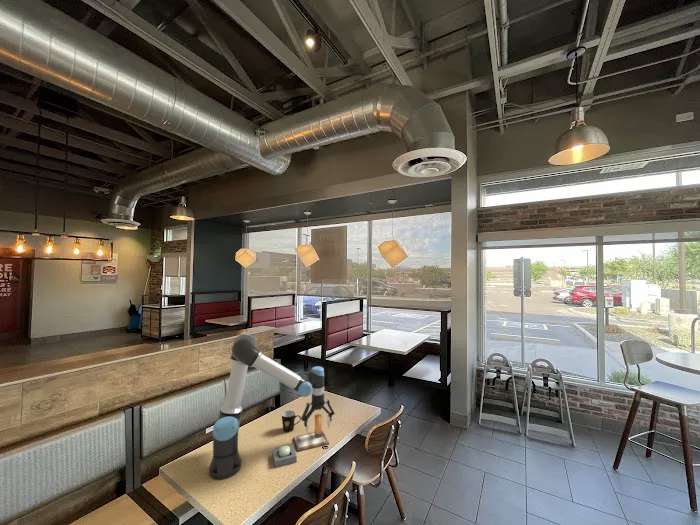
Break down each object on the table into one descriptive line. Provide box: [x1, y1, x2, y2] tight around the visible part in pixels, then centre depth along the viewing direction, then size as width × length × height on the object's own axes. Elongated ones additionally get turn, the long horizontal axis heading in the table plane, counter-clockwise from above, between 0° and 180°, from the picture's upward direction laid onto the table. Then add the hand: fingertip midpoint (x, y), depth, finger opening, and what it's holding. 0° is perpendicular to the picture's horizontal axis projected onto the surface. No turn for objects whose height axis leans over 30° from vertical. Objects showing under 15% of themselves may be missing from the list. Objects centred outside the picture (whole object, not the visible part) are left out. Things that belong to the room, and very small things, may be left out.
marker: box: [314, 413, 323, 438], centre depth 173 cm, size 4×4×12 cm
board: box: [293, 430, 330, 452], centre depth 169 cm, size 18×14×2 cm
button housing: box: [272, 444, 298, 468], centre depth 154 cm, size 11×11×3 cm
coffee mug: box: [281, 409, 302, 433], centre depth 182 cm, size 12×9×10 cm
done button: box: [278, 445, 290, 458], centre depth 154 cm, size 6×6×3 cm
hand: (318, 429), depth 173 cm, fingers open, 13 cm apart
